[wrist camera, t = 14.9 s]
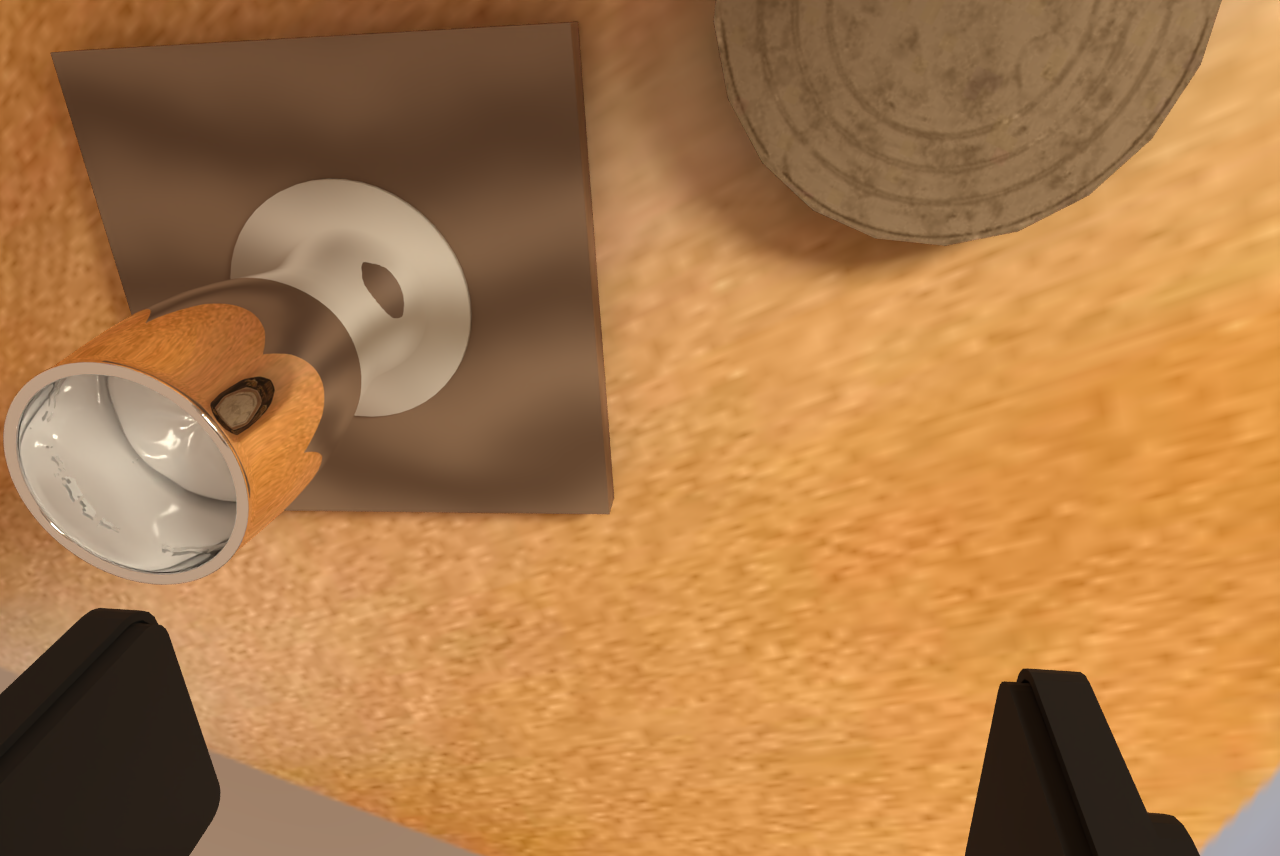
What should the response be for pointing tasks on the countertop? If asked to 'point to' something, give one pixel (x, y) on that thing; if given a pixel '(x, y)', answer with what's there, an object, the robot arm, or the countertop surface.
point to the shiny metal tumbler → (210, 407)
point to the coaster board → (384, 234)
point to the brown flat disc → (954, 102)
